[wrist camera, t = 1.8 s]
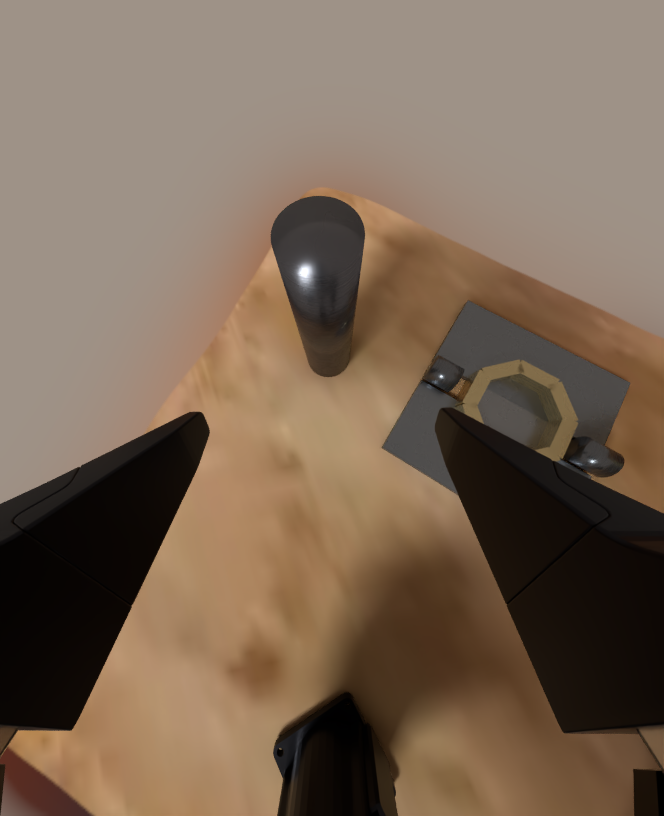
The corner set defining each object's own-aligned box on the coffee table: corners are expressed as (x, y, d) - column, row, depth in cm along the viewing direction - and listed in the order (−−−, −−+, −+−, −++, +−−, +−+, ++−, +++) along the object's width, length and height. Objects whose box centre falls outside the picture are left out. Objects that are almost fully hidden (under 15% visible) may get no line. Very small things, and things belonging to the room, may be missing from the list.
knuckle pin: (320, 384, 22) (298, 291, 9) (300, 350, 23) (254, 221, 10) (356, 364, 23) (382, 247, 10) (336, 331, 23) (334, 182, 10)
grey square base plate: (552, 553, 19) (582, 567, 17) (381, 447, 21) (387, 447, 19) (623, 384, 22) (659, 376, 19) (465, 303, 23) (479, 286, 21)
